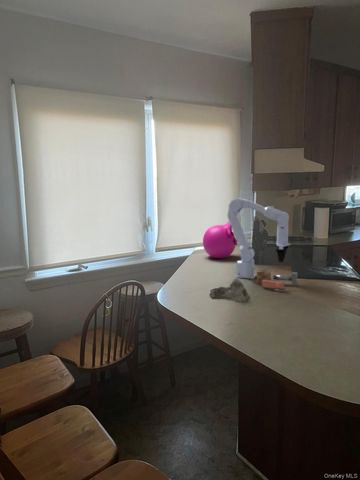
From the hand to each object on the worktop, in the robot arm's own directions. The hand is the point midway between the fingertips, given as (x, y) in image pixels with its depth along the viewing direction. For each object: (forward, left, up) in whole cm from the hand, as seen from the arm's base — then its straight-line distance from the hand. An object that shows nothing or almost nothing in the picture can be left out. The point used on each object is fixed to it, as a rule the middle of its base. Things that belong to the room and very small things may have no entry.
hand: (281, 260), depth 186 cm
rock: (-20, -38, -11) cm, 44 cm away
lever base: (+1, -21, -10) cm, 23 cm away
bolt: (+3, -9, -10) cm, 14 cm away
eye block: (-8, -9, -10) cm, 16 cm away
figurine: (-45, +45, -11) cm, 65 cm away
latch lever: (-2, -20, -9) cm, 22 cm away
